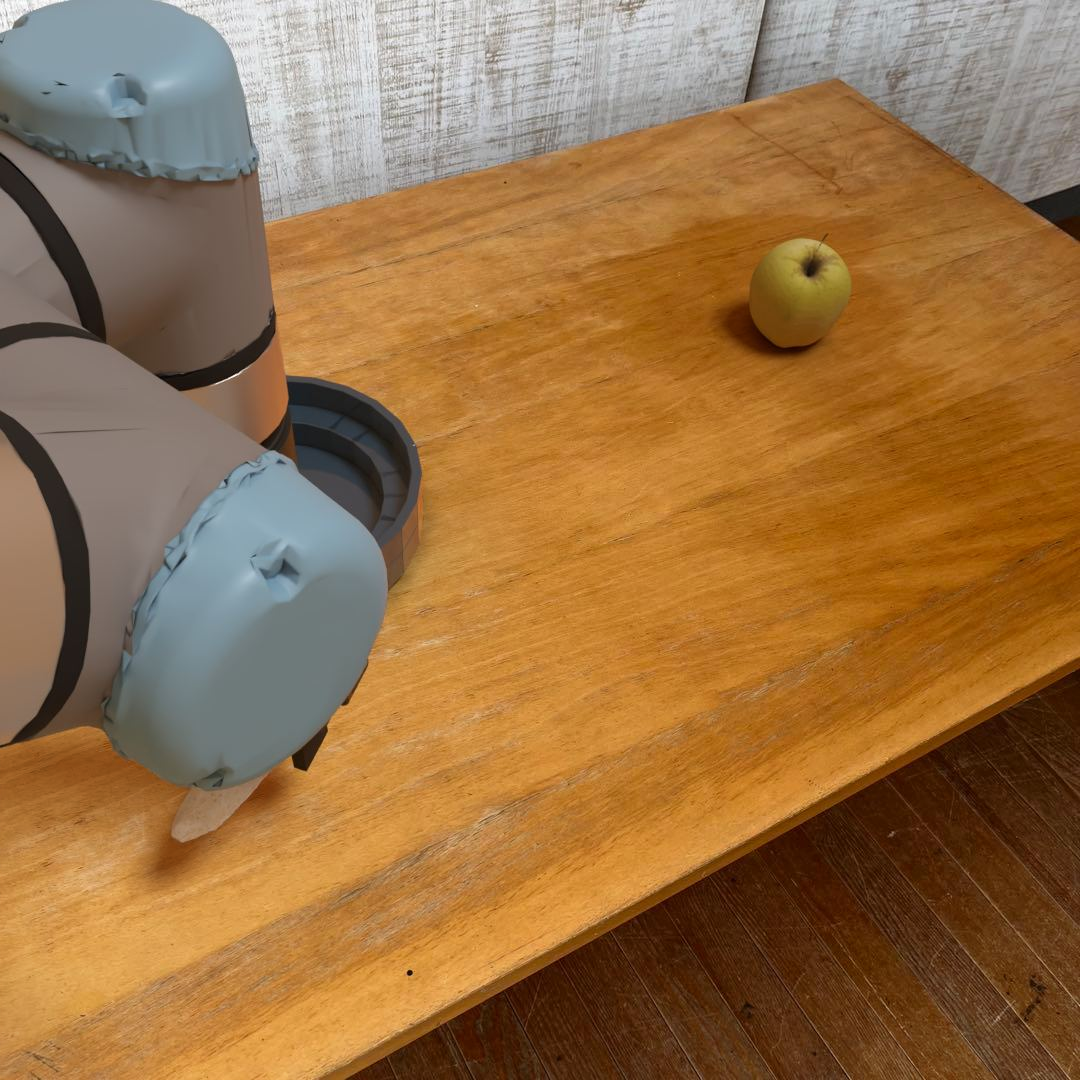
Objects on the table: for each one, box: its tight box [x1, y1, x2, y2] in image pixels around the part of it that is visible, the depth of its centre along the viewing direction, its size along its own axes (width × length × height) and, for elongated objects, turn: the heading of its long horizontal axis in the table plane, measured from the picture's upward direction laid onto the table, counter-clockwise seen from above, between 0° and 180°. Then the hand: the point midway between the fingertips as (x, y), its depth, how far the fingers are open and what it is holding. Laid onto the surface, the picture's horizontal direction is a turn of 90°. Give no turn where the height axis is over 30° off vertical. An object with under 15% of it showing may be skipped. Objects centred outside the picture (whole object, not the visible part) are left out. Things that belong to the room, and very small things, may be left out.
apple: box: [748, 232, 853, 349], centre depth 95 cm, size 8×8×10 cm
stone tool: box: [170, 769, 274, 844], centre depth 64 cm, size 5×2×15 cm
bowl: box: [285, 374, 424, 590], centre depth 79 cm, size 20×20×5 cm
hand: (265, 734), depth 64 cm, fingers closed on stone tool, 5 cm apart
